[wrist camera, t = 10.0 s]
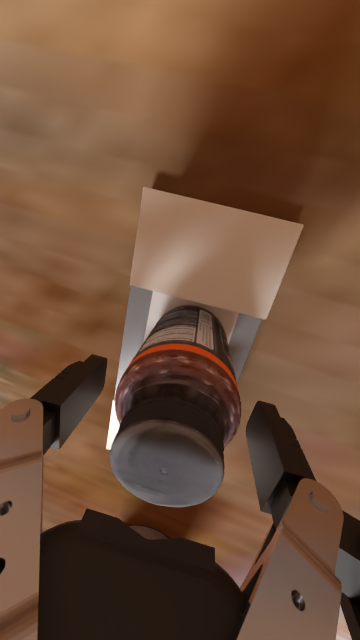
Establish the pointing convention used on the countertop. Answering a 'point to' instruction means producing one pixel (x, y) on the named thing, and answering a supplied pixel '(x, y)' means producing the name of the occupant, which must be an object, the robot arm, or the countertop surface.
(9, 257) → the countertop surface
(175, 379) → the supplement bottle
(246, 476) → the countertop surface
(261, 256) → the rail board
